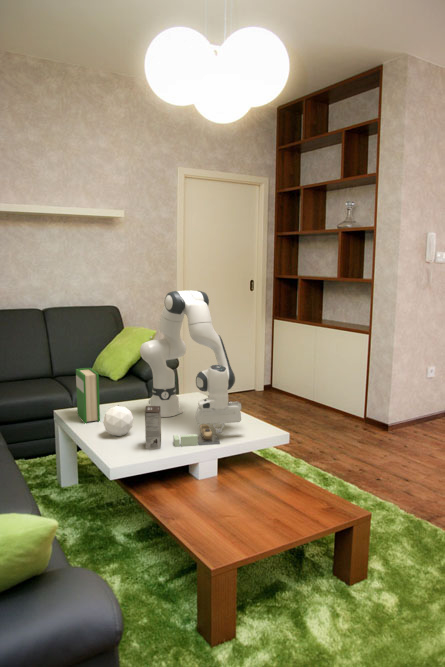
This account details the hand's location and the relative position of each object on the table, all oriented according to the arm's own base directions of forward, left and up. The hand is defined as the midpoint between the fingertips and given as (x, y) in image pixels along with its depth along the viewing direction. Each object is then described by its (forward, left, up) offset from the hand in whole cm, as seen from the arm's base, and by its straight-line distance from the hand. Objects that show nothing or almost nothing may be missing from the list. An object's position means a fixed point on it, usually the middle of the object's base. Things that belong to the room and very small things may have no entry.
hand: (218, 432), depth 234 cm
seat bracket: (+6, -15, -2) cm, 17 cm away
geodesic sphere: (-12, -43, -2) cm, 45 cm away
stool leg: (0, -6, -1) cm, 6 cm away
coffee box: (+6, -29, -2) cm, 30 cm away
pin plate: (+5, -5, -2) cm, 7 cm away
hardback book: (-43, -59, -2) cm, 73 cm away
